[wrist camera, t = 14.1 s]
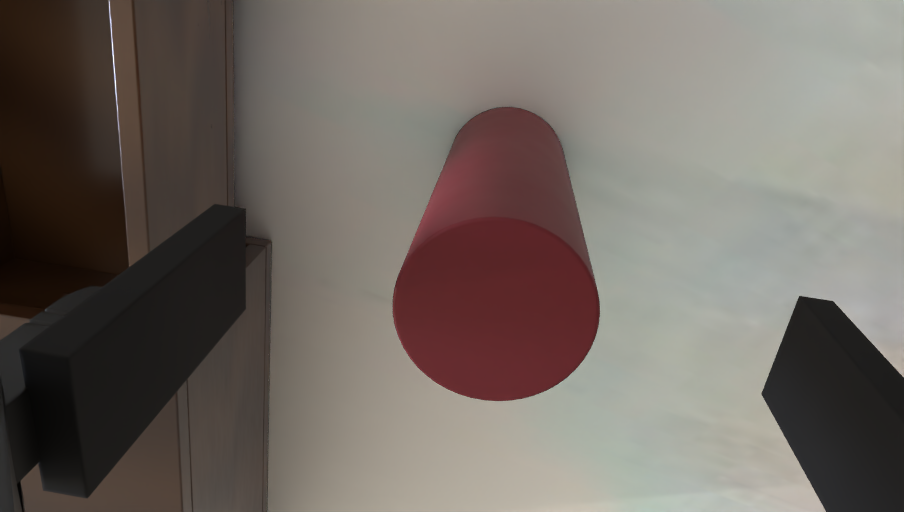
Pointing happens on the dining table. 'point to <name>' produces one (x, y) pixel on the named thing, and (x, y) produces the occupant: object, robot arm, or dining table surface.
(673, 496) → the dining table surface
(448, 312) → the candle
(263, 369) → the cabinet
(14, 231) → the drawer
